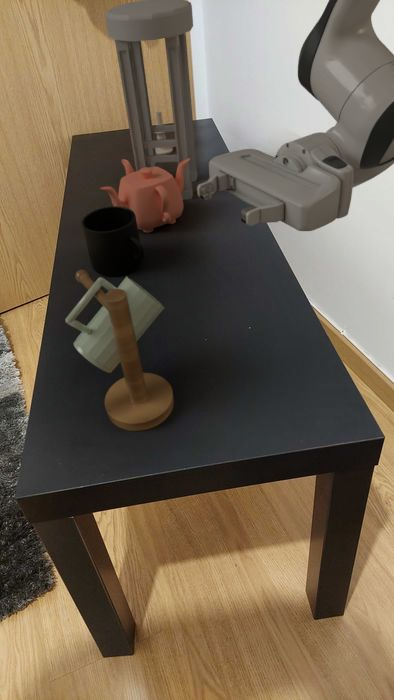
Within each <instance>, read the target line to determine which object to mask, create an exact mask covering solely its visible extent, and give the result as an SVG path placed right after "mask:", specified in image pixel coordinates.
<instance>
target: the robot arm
mask: <svg viewBox="0 0 394 700" xmlns="http://www.w3.org/2000/svg"><path fill="white" fill-rule="evenodd" d="M380 1H381V0H328V2H327V3H326V6H325V9H324V10H323V12H322V14H321V15H320V17H319V19H318V20H317V21H316V23H315V25H314V26H313V27H312V29H311V30H310V32H309V33H308V35H307V37H306V38H305V40H304V42H303V44H302V46H301V49H300V52H299V55H298V61H297V79H298V83H299V84H300V86H302V88H303V89H304V90H306V91H307V92H308V93H309V94H310V95H311V96H312V97H313V98H314V99H315V100H316V101H318V102H319V103H320V104H321V106H322V107H323V108H324V109H325V110H326V111H327V113H328V114H330V116H331V117H332V118H333V119H334V120H335V125H333V126H332V127H329V129H328V130H326V131H325V132H319V131H318V132H314V133H310V134H308V135H305V136H302V137H299V138H297V139H293V140H291V141H288V142H286V143H283V145H281V146H280V147H279V148H278V149H277V152H276V154H275V156H272V155H270V154H268V153H266V152H263V151H261V150H258V149H255V148H243V149H238V150H234V151H230V152H226V153H223V154H219V155H215V156H214V157H212V158H211V159H210V160H209V161H208V175H209V178H208V180H207V181H205V182H201V183H199V184H198V185H197V187H196V191H197V192H196V193H197V197H199V198H200V199H202V200H204V201H208V200H211V199H214V198H215V197H216V196H215V194H216V192H217V191H218V192H223V191H224V192H225V193H227V194H229V195H231V196H232V197H235V198H237V199H238V200H241V201H242V202H244V203H246V204H248V206H247V207H244V208H242V209H241V211H240V216H241V218H240V221H241V222H242V223H244V224H245V225H247V226H248V227H253V226H255V225H257V224H267V223H268V224H269V223H279V222H282V223H284V224H285V225H288V226H289V227H291V228H293V229H295V230H296V231H298V232H313V231H316V230H318V229H321V228H323V227H325V226H327V225H329V224H331V223H333V222H335V221H336V219H337V220H339V219H342V218H345V217H347V216H348V215H349V212H350V208H351V202H352V197H353V188H356V187H358V186H360V185H362V184H365V183H366V182H369V181H370V180H372V179H374V178H376V177H377V176H380V174H382V173H384V172H385V171H387V170H388V169H389V168H391V167H392V166H393V165H394V53H393V52H392V51H391V50H390V49H389V48H388V47H387V46H386V44H385V43H383V41H381V39H379V36H378V35H377V33H376V32H375V29H374V26H373V23H372V16H373V13H374V12H375V10H376V8H377V6H378V5H379V3H380Z"/></svg>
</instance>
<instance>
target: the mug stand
mask: <svg viewBox="0 0 394 700" xmlns="http://www.w3.org/2000/svg"><path fill="white" fill-rule="evenodd" d="M74 278H75V280H76V282H77V283H79V284H82V285H83V286H84V287H85V289H87V291H88V290H89V289H90V288H91V286H92V285H93V284H94V283H95V281H94V280H93V279H92V278H91V277H90V275H89V272H88V271H87V270H86V269H79V270H77V271H76V273H75V277H74ZM93 298H95V299H96V300H97V301H98V302H99V304H101V305H102V306H104V307H105V308H106V309H107V310H108V313H109V317H110V321H111V325H112V329H113V333H114V337H115V341H116V345H117V349H118V353H119V357H120V365H121V369H122V373H123V377H122V378H120V379H119V380H117V381H115V382H114V383H113V384H112V385H111V386H110V387H109V389H108V390H107V391H106V394H105V397H104V408H105V411H106V414H107V416H108V419H109V421H110V422H111V424H113V425H114V426H116V427H117V428H119V429H122V430H125V431H129V432H141V431H147V430H150V429H152V428H155V427H157V426H159V425H161V424H162V423H163V422H164V421H166V419H167V418H169V416H170V415H171V413H172V411H173V409H174V404H175V398H174V393H173V392H174V391H173V388H172V386H171V383H169V382H168V381H167V380H166V378H164V377H162V376H161V375H158V374H156V373H151V372H144V371H143V366H142V361H141V356H140V351H139V346H138V341H136V337H135V332H134V327H133V322H132V318H131V313H130V308H129V303H128V298H127V294H126V292H125V291H124V290H122V289H114V290H111V291H107V292H105V291H104V290H102V288H100V289H99V290H98V291H97V293H96V294H95V295H94V296H93Z"/></svg>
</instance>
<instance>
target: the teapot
mask: <svg viewBox="0 0 394 700" xmlns="http://www.w3.org/2000/svg"><path fill="white" fill-rule="evenodd" d="M189 160H190V158H188V159H185V160H183V161H182V162H180V164H179V165H178V164H177V168H176V173H175V177H174V175H173V174H171V173H170V172H168V171H167V170H165V169H163V168H161V167H159V166H158V167H150V168H149V167H145V168H142V169H140V170H139V171H136V170H134V168H133V166H132V163H130V162H129V160H127V159H125V158H123V159H121V161H120V162H121V163H122V165H123V167H124V169H125V175H124V176H122V177H121V178H120V180H119V187H118V193H117V191H116V189H114V187H112V186H102V187H99V190H101V191H104V192H106V193H107V194H108V195H109V197H110V200H111V203H112V206H120V207H126V208H129V209H131V210H132V211H133V212H134V213H135V215H136V221H137V227H138V230H141V231H142V232H144V233H146V234H147V233H152V232H153V231H154V229H155V228H158V227H161V226H163V225H166V224H168V225H172V224H175V223H176V222H177V220H176V219H178V218H180V217H181V216H182V213H183V211H184V200H183V199H182V195H181V194H182V192H183V189H184V169H185V166H186V164H187V163H188V162H189Z"/></svg>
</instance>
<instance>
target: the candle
mask: <svg viewBox="0 0 394 700" xmlns="http://www.w3.org/2000/svg"><path fill="white" fill-rule="evenodd" d="M154 114H155V122H156V124H155V125H164V122H163V114H162V111H155V113H154ZM153 134H156V140H162V139H167V137H166V132H154V133H153ZM155 150H156V155H170V154H172V153H173V151H174V147H162V148H155Z"/></svg>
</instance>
